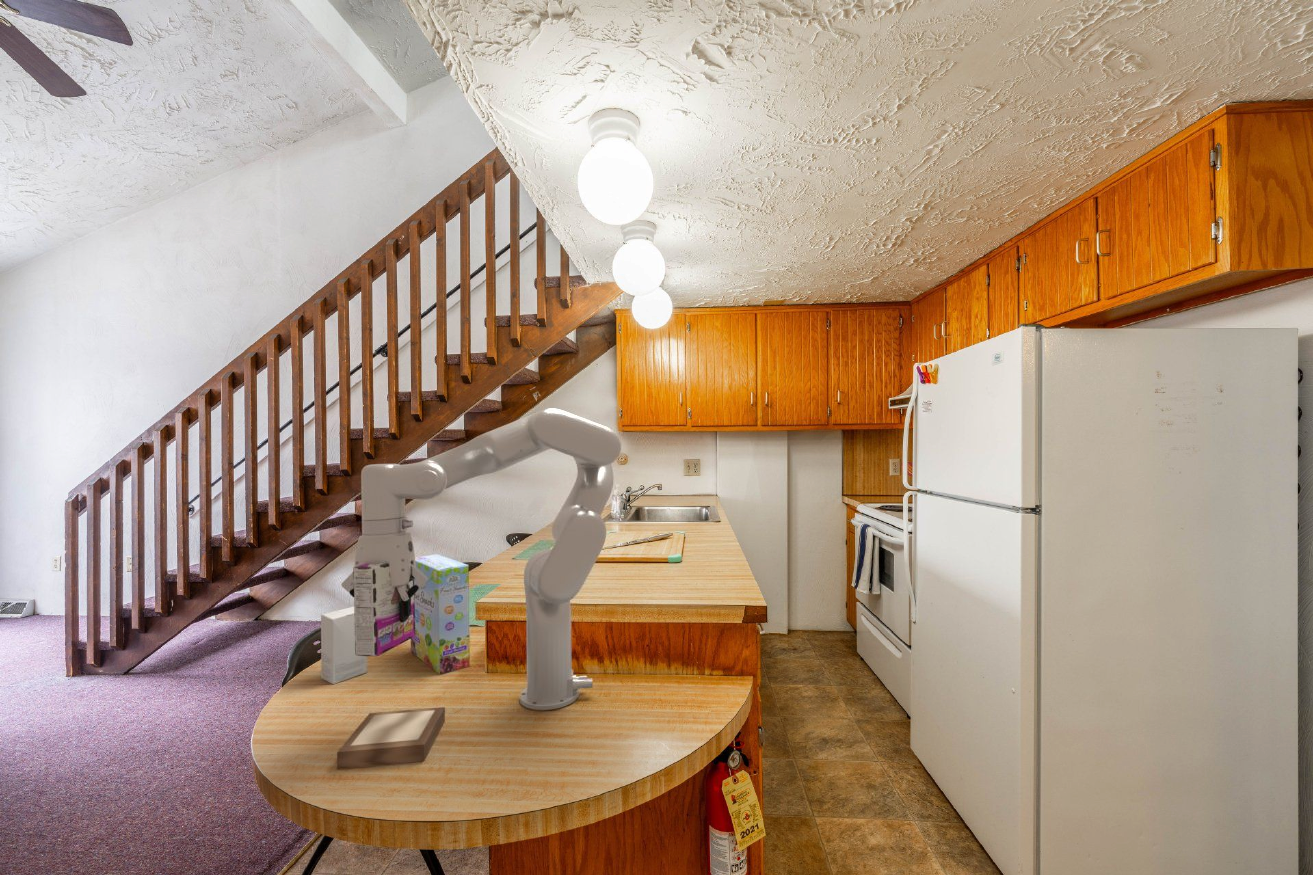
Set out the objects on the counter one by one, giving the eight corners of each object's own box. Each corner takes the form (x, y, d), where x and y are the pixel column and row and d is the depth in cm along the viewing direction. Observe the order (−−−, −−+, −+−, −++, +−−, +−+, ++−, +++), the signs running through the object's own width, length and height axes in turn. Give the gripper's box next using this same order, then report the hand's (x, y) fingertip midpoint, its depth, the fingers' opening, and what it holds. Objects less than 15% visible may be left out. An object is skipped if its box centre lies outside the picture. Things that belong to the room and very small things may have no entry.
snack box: (406, 653, 144) (406, 557, 145) (439, 645, 150) (439, 552, 151) (437, 676, 128) (437, 568, 129) (472, 666, 134) (471, 563, 135)
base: (444, 721, 106) (444, 705, 106) (424, 760, 92) (424, 743, 92) (369, 727, 104) (369, 711, 104) (337, 768, 90) (337, 750, 90)
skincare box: (355, 667, 134) (356, 605, 135) (368, 673, 130) (369, 609, 131) (319, 679, 128) (319, 613, 128) (331, 685, 124) (332, 617, 124)
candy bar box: (394, 635, 108) (394, 554, 109) (416, 636, 107) (415, 554, 108) (352, 656, 97) (351, 566, 98) (375, 657, 96) (375, 566, 97)
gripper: (436, 523, 108) (438, 612, 107) (346, 527, 106) (347, 618, 105) (424, 528, 100) (426, 624, 100) (327, 532, 98) (328, 630, 98)
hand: (385, 620), depth 103 cm, fingers closed on candy bar box, 6 cm apart
